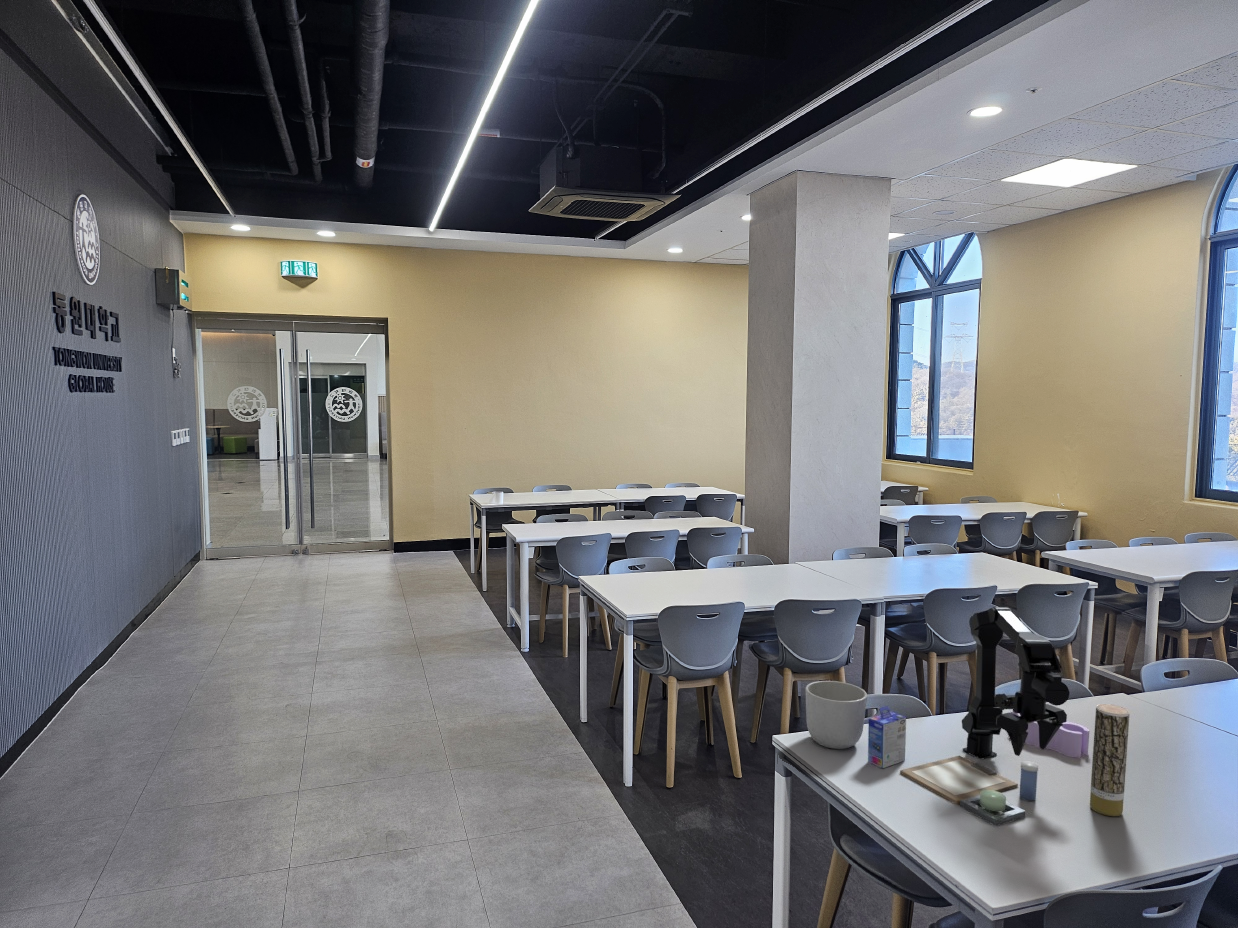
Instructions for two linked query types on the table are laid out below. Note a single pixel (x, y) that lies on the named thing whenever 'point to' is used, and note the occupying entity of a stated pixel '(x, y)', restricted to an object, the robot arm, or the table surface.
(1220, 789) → the table surface
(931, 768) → the clipboard
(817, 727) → the planter
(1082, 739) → the clip
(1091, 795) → the paper tube
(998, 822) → the button bezel
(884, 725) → the ink cartridge box
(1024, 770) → the blue cylinder
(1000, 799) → the button
